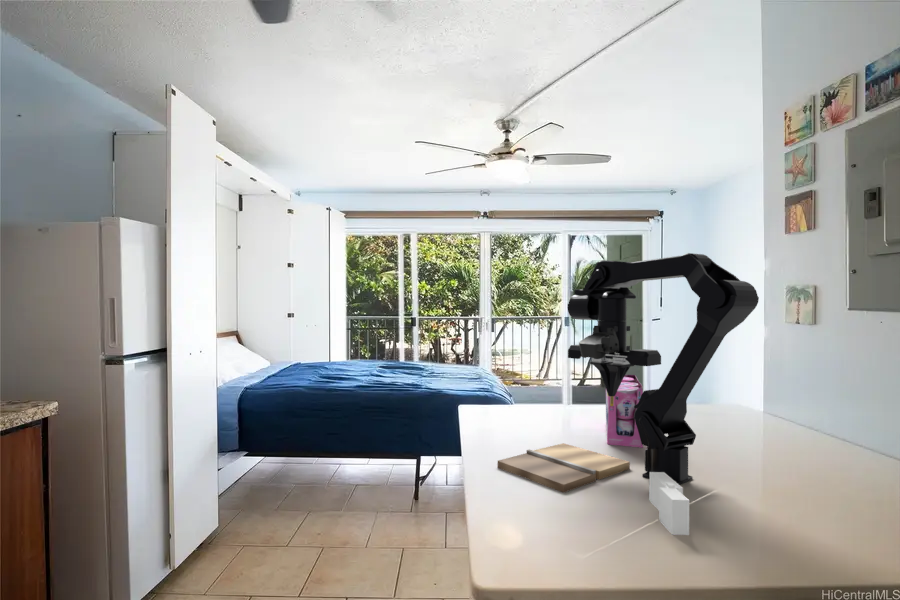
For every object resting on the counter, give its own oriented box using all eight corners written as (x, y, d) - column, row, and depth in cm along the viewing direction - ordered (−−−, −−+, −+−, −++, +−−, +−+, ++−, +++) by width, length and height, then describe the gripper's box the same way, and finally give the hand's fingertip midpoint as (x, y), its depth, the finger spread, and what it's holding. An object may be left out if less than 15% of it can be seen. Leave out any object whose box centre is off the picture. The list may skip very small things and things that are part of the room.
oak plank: (629, 469, 95) (629, 461, 95) (599, 479, 89) (599, 471, 89) (563, 450, 108) (563, 443, 108) (532, 457, 101) (532, 450, 102)
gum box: (644, 450, 108) (644, 388, 109) (606, 447, 111) (607, 386, 111) (636, 425, 131) (636, 374, 132) (605, 423, 134) (605, 373, 134)
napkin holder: (643, 497, 83) (643, 463, 83) (718, 516, 76) (718, 478, 76) (608, 527, 71) (608, 487, 71) (692, 553, 64) (693, 509, 64)
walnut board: (595, 481, 88) (595, 470, 88) (563, 493, 83) (563, 480, 83) (529, 459, 101) (529, 449, 101) (497, 468, 95) (497, 457, 95)
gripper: (551, 320, 104) (551, 393, 104) (631, 323, 90) (631, 408, 90) (583, 319, 111) (583, 388, 111) (662, 322, 97) (662, 401, 96)
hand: (611, 396), depth 102 cm, fingers closed
